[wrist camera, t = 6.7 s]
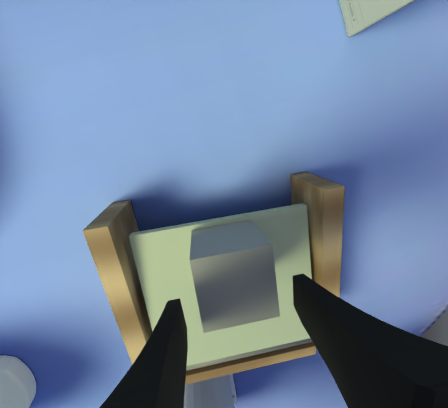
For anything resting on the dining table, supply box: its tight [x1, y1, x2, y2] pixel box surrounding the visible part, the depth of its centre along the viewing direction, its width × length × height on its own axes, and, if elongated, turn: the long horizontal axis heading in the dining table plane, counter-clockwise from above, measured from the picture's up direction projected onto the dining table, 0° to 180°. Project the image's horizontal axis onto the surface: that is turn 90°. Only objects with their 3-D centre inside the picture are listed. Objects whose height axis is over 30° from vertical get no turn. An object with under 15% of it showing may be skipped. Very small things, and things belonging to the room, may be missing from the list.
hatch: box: [129, 203, 312, 371], centre depth 18 cm, size 12×13×1 cm
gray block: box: [190, 220, 280, 333], centre depth 15 cm, size 4×4×5 cm
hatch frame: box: [83, 172, 345, 385], centre depth 20 cm, size 15×17×6 cm
